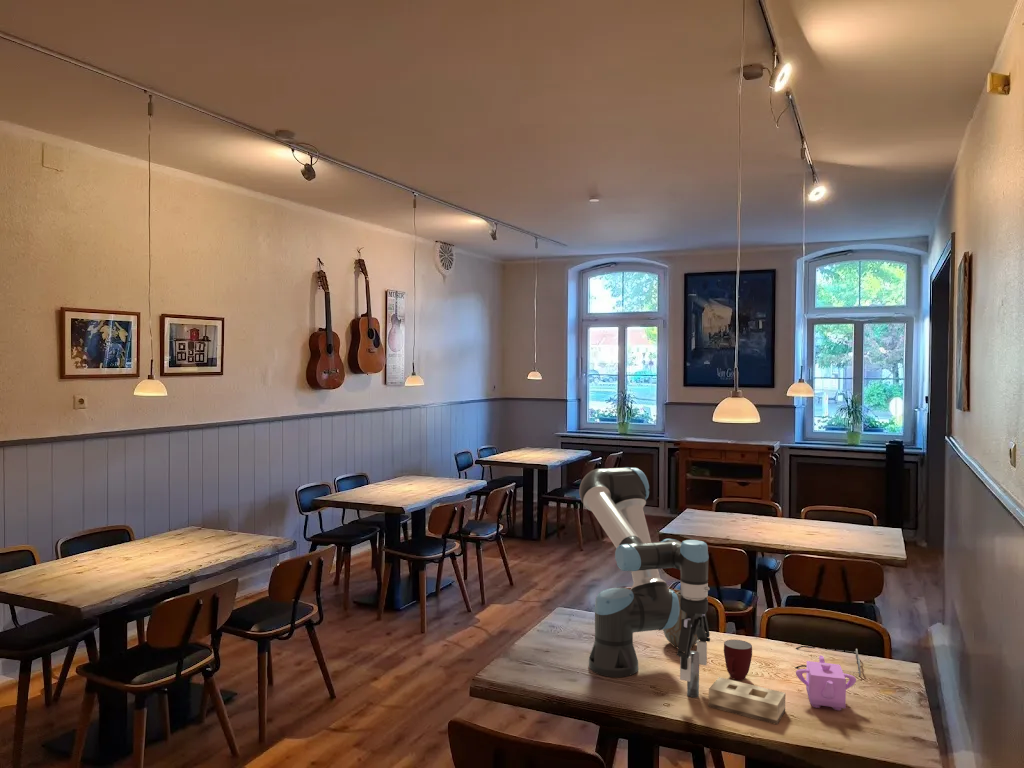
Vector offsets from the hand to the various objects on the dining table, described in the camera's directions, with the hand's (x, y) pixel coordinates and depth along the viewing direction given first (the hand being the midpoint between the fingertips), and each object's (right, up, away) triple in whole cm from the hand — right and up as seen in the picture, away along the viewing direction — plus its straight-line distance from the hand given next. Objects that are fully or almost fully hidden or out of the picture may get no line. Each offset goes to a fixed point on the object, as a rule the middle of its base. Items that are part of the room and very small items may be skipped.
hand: (693, 672), depth 205 cm
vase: (+6, -6, +38) cm, 39 cm away
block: (+12, -7, -8) cm, 16 cm away
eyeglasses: (+48, -8, +25) cm, 55 cm away
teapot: (+35, -7, -4) cm, 36 cm away
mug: (+16, -7, +11) cm, 21 cm away
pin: (0, -7, 0) cm, 7 cm away
